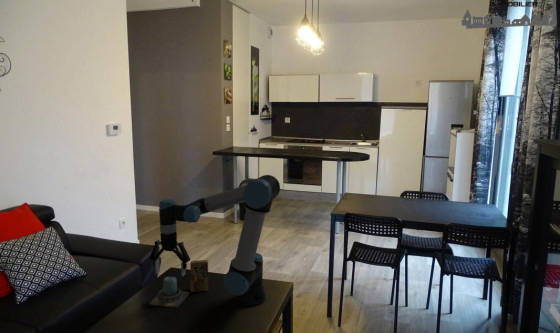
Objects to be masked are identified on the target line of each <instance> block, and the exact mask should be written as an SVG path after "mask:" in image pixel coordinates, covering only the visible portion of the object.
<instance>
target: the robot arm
mask: <svg viewBox="0 0 560 333" xmlns="http://www.w3.org/2000/svg"><path fill="white" fill-rule="evenodd" d="M280 191H281V185H280V182H279V180H278V179H277V178H276V177H275V176H273V175H271V174H270V175H269V174H263V175H261V176H259V177H257V178H254V179H252V180H251V181H249V182H248V183H247V184H244V185H242V186H238V187H235V188H232V189H228V190H225V191H222V192H219V193H215V194H213V195H209V196H205V197H201V198H198V199H196V200H195V201H192V202H190V203H187V204H184V205H183V204H177V203H176V200H175V199H172V198H167V199H162V200H160V201H159V203H158V205H159V206H158V211H159V212H158V213H159V231H160V234H159V236H160V239H158V240H155V241H154V246H153V248H152V251H151V253H150V256H149V258H148V259H149V260H151V261H153V262H152V263H153V267H154V272H155V275H158V274H159V273H160V270H161V269H160V258H159V257H160V256H161V255H162V253H163V252H172V253H173V254H174V255H176V256H177V258H178V259H179V260H180V262H181V263H180V268H181V269H180V272H181V273H180V274H181V277H184V276H185V275H186V269H187V268H188V263H189V262H191V258H190V256H189V253H188V251H187V250H186V247H185V246H184V245H185V244H184V242H183V241H180V242H178V240H177V239H178V231H177V230H178V229H177V222H184V223H197V222H198V221H199V220H200V217H201V216H202V215H204V214H208V213H211V212H215V211H218V210H222V209H224V208H229V207H232V206H235V205H238V204H242V203H244V204H243V207H244V209H245V214H244V219H243V222H242V227H241V232H240V237H239V240H238V244H237V248H236V253H235V257H234V258H232V259H231V261H230V264H229V267H228V271H227V273H225V275H224V277H223V281H222V282H223V286H224V288H225V289H226V291H227V292H228V293H229V294H231V295H233V296H234V300H235V302H236V303H237V304H238V305H241V306H246V307H254V306H259V305H261V304H263V303H264V302H265V301H266V300H267V299H266V298H267V296H266V295H267V294H266V291H265V288H264V285H263V277H264V276H263V274H264V272H263V269H264V266H263V264H264V258H263V255H262V254H260V253H257V252H258V251H257V249H258V246H259V242H260V238H261V234H262V230H263V226H264V221H265V218H266V215H267V214H269V213H270V212H271V209H272V204H273V201H274V199H276V198H277V196H278V195H279V194H280ZM159 246H161V248H160V249H159ZM158 249H159V251H158ZM157 251H158V252H157Z"/></svg>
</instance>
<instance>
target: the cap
mask: <svg viewBox="0 0 560 333" xmlns="http://www.w3.org/2000/svg"><path fill="white" fill-rule="evenodd" d="M177 281H178V279H177V277H174V276H166V277H164V278H163V279H162V289H163V295H164V296H166V297H170V296H174V295H177V287H178V282H177Z"/></svg>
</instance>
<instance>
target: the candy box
mask: <svg viewBox="0 0 560 333" xmlns="http://www.w3.org/2000/svg"><path fill="white" fill-rule="evenodd" d="M189 262H190V293H193V292H208V291H209V259H204V260H203V259H202V260H199V259H198V260H190V261H189Z"/></svg>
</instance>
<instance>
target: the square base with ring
mask: <svg viewBox="0 0 560 333" xmlns="http://www.w3.org/2000/svg"><path fill="white" fill-rule="evenodd" d="M190 293H191V291H183V290H182V288H180V287H178V286H177V295H174V296H170V297H166V296H164V295H163V288H162V289H159V291H158V292H157V295H156V296H155V297H153V299H152V300H151V301H149V303H148V304H149V305H150V306H151V305H152V306H159V307H166V308H174V309H177V308H179V306H181V304H182V303H183V302H184V301H185V298H187V297H188V296H189V295H190Z"/></svg>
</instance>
